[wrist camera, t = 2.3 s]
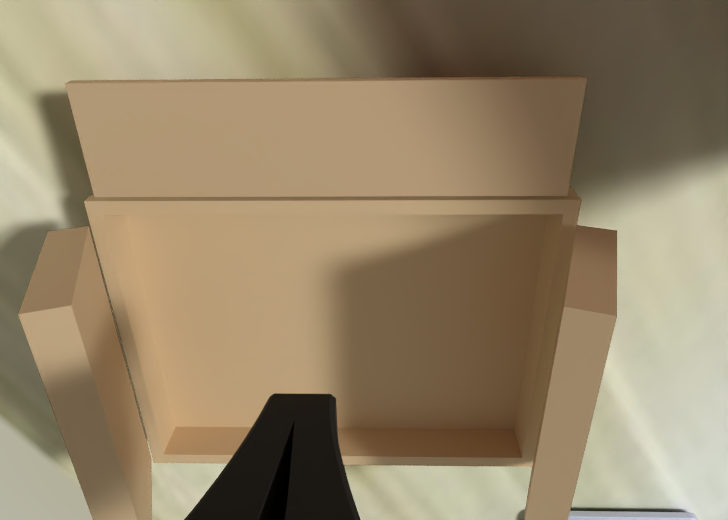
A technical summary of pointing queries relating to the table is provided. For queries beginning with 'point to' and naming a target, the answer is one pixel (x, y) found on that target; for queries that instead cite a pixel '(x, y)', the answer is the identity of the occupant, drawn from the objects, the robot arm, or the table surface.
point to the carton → (336, 255)
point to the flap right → (574, 372)
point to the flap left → (87, 376)
